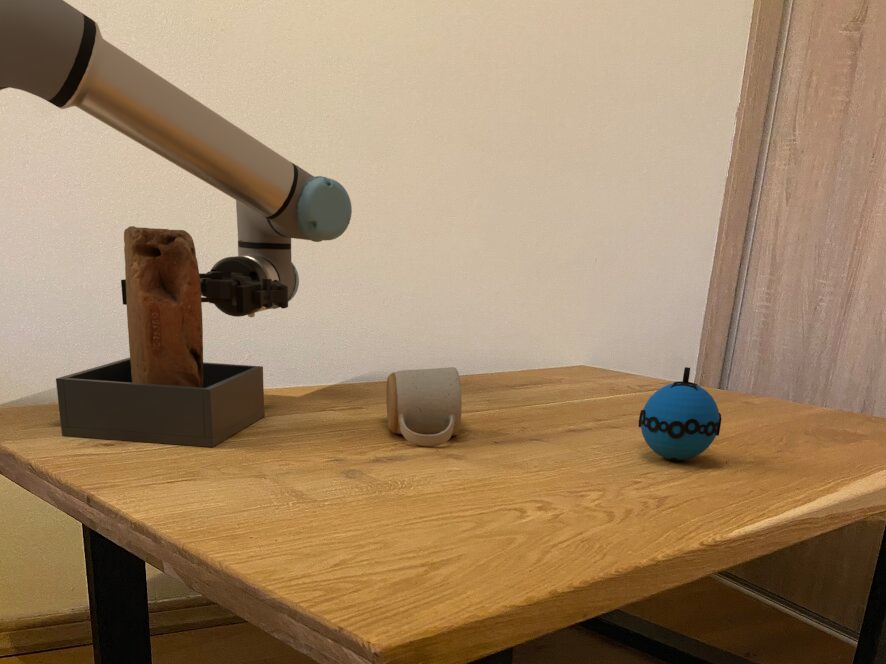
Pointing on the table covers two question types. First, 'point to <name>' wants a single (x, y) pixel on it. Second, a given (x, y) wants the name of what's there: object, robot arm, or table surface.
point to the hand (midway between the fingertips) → (181, 295)
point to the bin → (160, 405)
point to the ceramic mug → (424, 405)
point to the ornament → (680, 420)
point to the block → (163, 307)
